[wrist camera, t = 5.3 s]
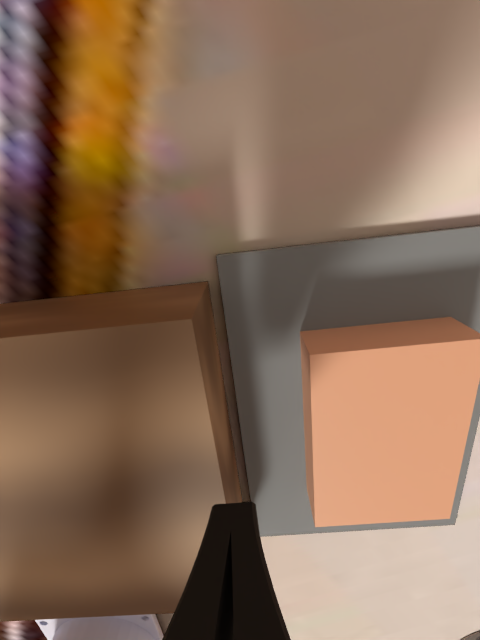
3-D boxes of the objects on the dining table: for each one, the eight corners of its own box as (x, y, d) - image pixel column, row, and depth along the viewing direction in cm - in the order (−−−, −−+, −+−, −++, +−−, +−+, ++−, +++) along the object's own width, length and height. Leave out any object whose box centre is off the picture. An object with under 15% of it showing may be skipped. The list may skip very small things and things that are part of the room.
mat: (451, 519, 17) (454, 524, 17) (255, 531, 17) (255, 537, 17) (516, 221, 11) (523, 221, 11) (216, 254, 12) (216, 256, 11)
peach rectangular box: (315, 527, 14) (306, 488, 16) (449, 518, 14) (424, 480, 15) (309, 354, 10) (299, 331, 12) (488, 338, 10) (450, 316, 12)
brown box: (245, 520, 17) (245, 609, 13) (42, 533, 18) (-11, 622, 14) (207, 281, 12) (191, 319, 8) (-77, 312, 13) (-212, 359, 9)
